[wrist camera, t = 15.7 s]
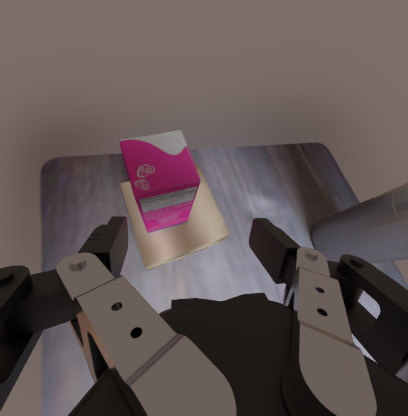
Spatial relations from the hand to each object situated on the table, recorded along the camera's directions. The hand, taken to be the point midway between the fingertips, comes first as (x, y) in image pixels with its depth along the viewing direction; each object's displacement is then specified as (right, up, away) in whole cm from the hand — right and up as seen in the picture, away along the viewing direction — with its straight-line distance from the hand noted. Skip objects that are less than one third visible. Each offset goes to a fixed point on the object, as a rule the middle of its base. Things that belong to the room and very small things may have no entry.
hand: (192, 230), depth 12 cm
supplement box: (-5, +1, +14) cm, 15 cm away
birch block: (-5, -1, +20) cm, 21 cm away
